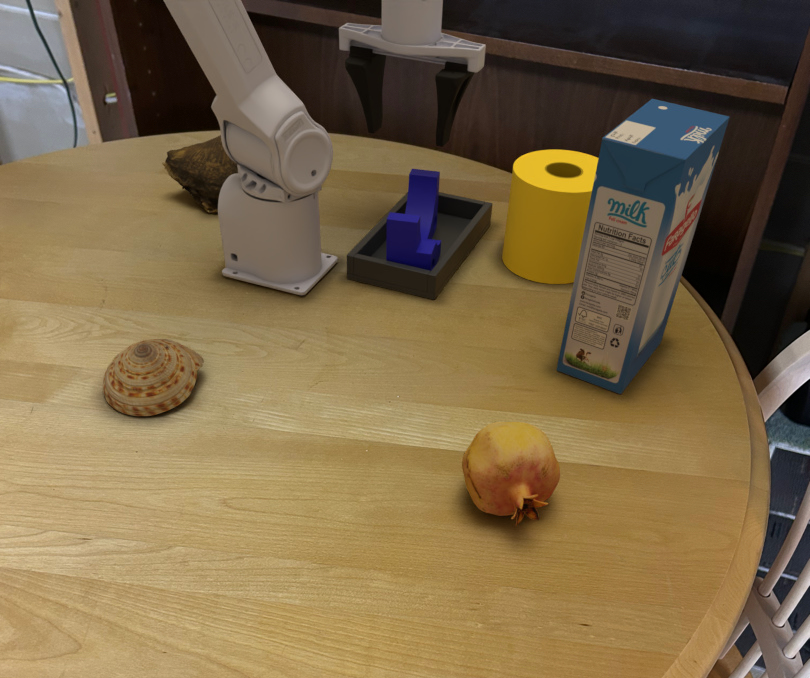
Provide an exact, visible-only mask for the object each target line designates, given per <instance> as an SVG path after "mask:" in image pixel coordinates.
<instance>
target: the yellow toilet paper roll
mask: <svg viewBox="0 0 810 678" xmlns="http://www.w3.org/2000/svg"><path fill="white" fill-rule="evenodd" d="M598 159H599V157H597V156H594V155H592V154H588V153H584V152H580V151H576V150H569V149H540V150H535V151H529V152H528V153H525V154H523V155H520V156H519V157H518V158H517V159H515V160H514V162H513V164H512V173H511V179H510V180H511V181H510V187H509V195H508V197H509V198H508V205H507V214H506V221H505V229H504V230H505V231H504V238H503V245H502V255H501V258H502V262H503V264H504V266H505V267H506V268H507V269H508V270H509V271H510V272H512V273H513V274H515V275H517V276H518V277H520V278H523V279H525V280H529V281H532V282H534V283H535V282H536V283H541V284H549V285H566V284H574V279H575V274H576V269H577V264H578V259H579V254H580V249H581V244H582V239H583V234H584V229H585V224H586V219H587V214H588V209H589V204H590V199H591V194H592V189H593V184H594V179H595V174H596V169H597V164H598Z"/></svg>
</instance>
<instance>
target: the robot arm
mask: <svg viewBox="0 0 810 678" xmlns="http://www.w3.org/2000/svg"><path fill="white" fill-rule="evenodd" d="M162 1H163V2H164V4H165V6H166V8H167V9H168V11H169V13H170V15H171V17H172V18H173V20H174V22H175V24H176V25H177V27H178V29H179V31H180V33H181V34H182V36H183V38H184V40H185V42H186V43H187V45H188V46H189V48H190V51H191V52H192V54H193V55H194V57H195V59H196V61H197V62H198V64H199V66H200V68H201V70H202V72H203V73H204V75H205V77H206V78H207V80H208V82H209V84H210V86H211V88H212V89H213V91H214V93H215V96H214V98H213V100H212V103H211V106H210V108H211V110H212V112H213V114H214V116H215V117H216V120H217V122H218V125H219V129H220V130H219V131H220V135H221V141H222V145H223V147H224V150H225V152H226V154H227V155H228V156H229V158H230V159H231V160H232V161H234V162H235V163H237V167H238V173H236V174H232V175H230V176H229V177H228V178H227V179H226V181H225V182H224V184H223V186H222V188H221V191H220V194H219V200H218V212H217V217H218V223H219V229H220V230H219V231H220V236H221V244H222V245H221V246H222V251H223V258H224V265H225V267H224V268H223V269H222V270H221V275H222V276H223V277H226V278H230V279H234V280H238V281H242V282H245V283H248V284H249V283H250V284H254V285H258V286H261V287H266V288H269V289H273V290H278V291H281V292H286V293H290V294H293V295H297V296H305V295H307V293H309V291H311V290H312V288H313V287H314V286H315V285H316V284H317V283H318V282H319V281H320V280H321V279H322V278H323V277H324V276H325V275H326V274H327V273H328V272H329V271H330V270H331V269H332V268H333V267H334V266H335V265H336V264H337V263H338V260H339V259H338V256H337V255H333V254H329V253H324V252H322V239H321V238H322V237H321V236H322V235H321V217H320V200H319V198H320V197H319V192H320V191H322V190H323V189H322V186H323V184H324V183H325V182H326V180H327V178H328V176H329V174H330V171H331V169H332V164H333V159H334V148H333V147H334V146H333V142H332V138H331V137H330V135H329V132H328V131H327V130H326V129H325V127H324V126H322V125H321V124H320V123H318V122H316V121H315V120H314V119H313V118H312V117H311V115H310V113H309V112H308V109H307V108H306V105H305V104H304V103H303V101H302V100H301V99H300V98H299V97H298V96H297V95H296V93H294V91H293V90H292V89H291V88H290V87H289V86H288V85H287V84H286V83H285V82H284V81H283V80H282V78H280V76H279V75H278V74H277V73H276V70H275V69H274V66H273V64H272V62H271V60H270V58H269V56H268V53H267V52H266V50H265V48H264V46H263V43H262V42H261V39H260V37H259V35H258V32H257V31H256V29H255V27H254V25H253V22H252V21H251V19H250V16H249V14H248V12H247V9H246V8H245V6H244V4H243V2H242V0H162ZM443 5H444V0H381V24H361V23H354V22H353V23H352V22H346V23H345V24H343V25H341V26H339V28H338V45H339V46H338V47H339V50H340V51H345V52H349V53H348V57H347V58H345V60H344V67H345V70H346V72H347V74H348V76H349V77H350V79H351V81H352V83H353V85H354V87H355V91H356V93H357V95H358V97H359V100H360V104H361V106H362V110H363V114H364V115H363V116H364V119H365V123H366V128H367V132H368V133H367V134H372V135H374V134H375V133H377V132H378V131H379V130H380V129H381V128H382V127H383V126H382V125H383V117H384V116H383V115H384V114H383V113H384V111H383V110H384V109H383V89H384V78H385V77H384V76H385V68H386V60H387V57H388V56H389V57H395V58H401V59H408V60H412V61H418V62H419V61H420V62H425V63H431V64H436V65H437V64H438V65H442V66H443V65H444V68H442V69H441V70H439V71H438V72H437V73H436V74H434V75H435V76H434V80H435V89H436V101H437V102H436V105H437V117H436V128H435V129H436V130H435V146H436V147H441V148H442V147H443V148H444V146H445V145H446V144H447V143H448V142H449V141H450V138H451V133H452V129H453V124H454V122H455V118H456V115H457V112H458V109H459V107H460V104H461V102H462V99H463V97H464V94H465V92H466V91H467V88H468V86H469V84H470V82H471V81H472V79H473V77H474V75H475V73H476V74H477V73H478V72H480V71H481V70H482V69H483V68H485V60H486V49H487V45H486V44H484V43H479V42H474V41H470V40H467V39H464V38H461V37H457V36H453V35H451V34H447V33H445V32H442V25H443V7H444V6H443Z"/></svg>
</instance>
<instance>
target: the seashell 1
mask: <svg viewBox="0 0 810 678" xmlns="http://www.w3.org/2000/svg"><path fill="white" fill-rule="evenodd" d="M204 362H205V360H204V357H203V356H202V355H201V354H199V353H198V352H196V351H195V350H193V349H191V348H189V346H186V345H183V344H182V343H180V342H178V341H175V340H172V339H169V338H168V339H167V338H151V339H143V340H140V341H137V342H135V343H132V344H131V345H129V346H127V347H126V348H125V349H123V350H122V351H120V352H119V353H118V354H116V355H115V356H114V358H113V359H112V360H111V362H110V363H109V364H108V366H107V367H106V369H105V372H104V375H103V380H102V385H103V386H102V391H103V392H102V393H103V395H104V397H105V401H106V402H107V404H108V405H109V406H110V407H111V408H113V409H114V410H116V411H118V412H120V413H122V414H123V415H128V416H134V417H150V416H155V415H158V414H163V413H164V412H167V411H170V410H172V409H175V408H177V406H179V405H181V404H182V403H184V401H186V399H188V398H189V397H190V395H191V394H192V392H193V389H194V387H195V384H196V382H197V379H198V371H199V370H200V369H201V368H202V367H203V365H204V364H205V363H204Z"/></svg>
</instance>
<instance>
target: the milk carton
mask: <svg viewBox="0 0 810 678" xmlns="http://www.w3.org/2000/svg"><path fill="white" fill-rule="evenodd" d="M730 118H731V117H730V116H729V115H724V114H720V113H716V112H712V111H708V110H703V109H700V108H699V109H698V108H693V107H691V106H685V105H682V104H678V103H674V102H673V103H672V102H668V101H664V100H659V99H656V98H651V99H650V100H649V101H647V102H645V104H643V105H642V106H641V107H639V108H638V109H637V110H636V111H634V112H633V113H632V114H631V115H630V116H628V117H627V118H625V119H624V120H623V121H622V122H620V124H618V125H617V126H616V127H614V128H613V129H612V130H610V131H609V132H608V133H607V134H605V135H604V136H603V137H601V143H600V149H599V153H598V158H599V159H598V164H597V169H596V174H595V179H594V184H593V189H592V194H591V199H590V204H589V209H588V214H587V219H586V224H585V229H584V234H583V239H582V244H581V249H580V254H579V259H578V264H577V269H576V274H575V279H574V282H573V283H572V290H571V295H570V300H569V305H568V309H567V315H566V320H565V325H564V330H563V335H562V338H561V339H562V340H561V345H560V350H559V355H558V361H557V364H556V365H557V366H556V370H555V371H557V372H559V373H563V374H564V375H567V376H568V375H569V376H570V377H573V378H576V379H578V380H581V381H584V382H586V383H589V384H592V385H594V386H598V387H599V388H602V389H605V390H608V391H611V392H613V393H616V394H618V395H622V393H624V391H625V390H626V388H627V387H628V386H629V385H630V383H631V382H632V381H633V379H635V377H636V375H637V374H638V373H639V371H640V370H642V368H643V367H644V365H645V364H646V363H647V361H648V360H649V359H650V358H651V356H652V355H653V353H654V352H655V351H656V350H657V349H658V347H659V346H660V344H661V343H662V341H663V337H664V334H665V330H666V327H667V324H668V321H669V317H670V314H671V311H672V307H673V305H674V301H675V298H676V294H677V291H678V288H679V285H680V282H681V278H682V275H683V271H684V269H685V265H686V262H687V258H688V255H689V252H690V248H691V245H692V241H693V239H694V236H695V232H696V230H697V225H698V222H699V220H700V215H701V212H702V208H703V206H704V203H705V200H706V197H707V196H706V195H707V192H708V189H709V186H710V184H711V180H712V176H713V173H714V170H715V166H716V163H717V160H718V157H719V153H720V150H721V147H722V144H723V140H724V138H725V133H726V131H727V127H728V124H729V121H730Z"/></svg>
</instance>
